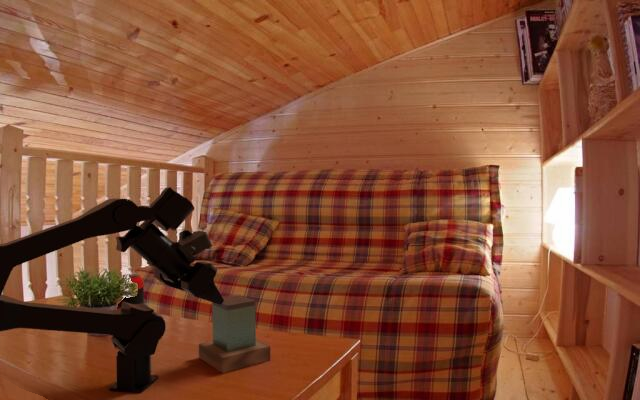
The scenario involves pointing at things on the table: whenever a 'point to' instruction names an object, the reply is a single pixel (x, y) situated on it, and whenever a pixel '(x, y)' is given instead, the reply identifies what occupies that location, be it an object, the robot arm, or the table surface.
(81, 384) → the table surface
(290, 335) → the table surface
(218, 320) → the tea tin
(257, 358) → the walnut block
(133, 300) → the soda can
